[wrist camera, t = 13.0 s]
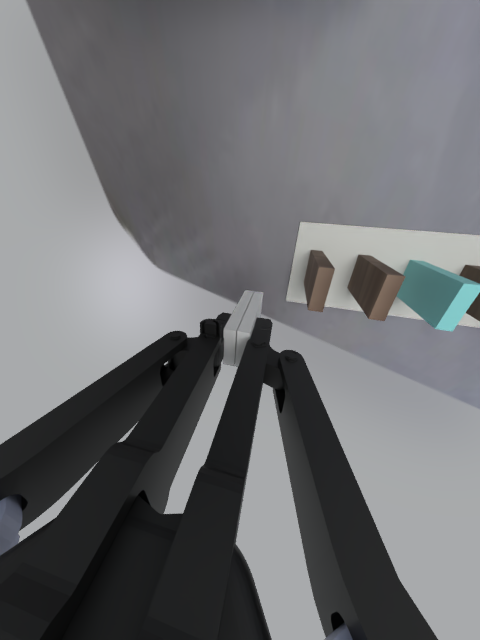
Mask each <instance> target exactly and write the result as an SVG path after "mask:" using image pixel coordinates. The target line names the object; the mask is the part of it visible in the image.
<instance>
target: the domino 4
mask: <svg viewBox="0 0 480 640" xmlns="http://www.w3.org/2000/svg"><path fill="white" fill-rule="evenodd" d="M459 276H462V277H464V278H467V279H469V280H471V281H474V282H476V283H479V284H480V266H474V265H465V266H464V268H463V270H462V271H461V273H460V275H459ZM466 313H467V314H468V315H470V316H472V317H473V318H475V319H476V320H478V321H480V292H479V294H478V295H477V297H476V298H475V300H474V301H473V302H472V304H471V305H470V307H469V308H468V310H467V311H466Z"/></svg>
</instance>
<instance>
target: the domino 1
mask: <svg viewBox="0 0 480 640" xmlns="http://www.w3.org/2000/svg"><path fill="white" fill-rule="evenodd" d="M334 271H335V268H334V266H333V265H332V264H331V262H330V261H329V259H328V258H327V257H326V255H325V254H324V252H323V251H319V250H311V252H310V256H309V261H308V265H307V269H306V274H305V278H304V288H305V294H306V301H307V307H308V310H311V311H318V312H323V309H324V305H325V302H326V298H327V295H328V292H329V288H330V285H331V281H332V278H333V275H334Z"/></svg>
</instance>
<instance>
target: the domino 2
mask: <svg viewBox="0 0 480 640" xmlns="http://www.w3.org/2000/svg"><path fill="white" fill-rule="evenodd" d="M405 277H406V276H404V275H402V274H401V273H399V272H397V271H396V270H394V269H392V268H391V267H389V266H387V265H386V264H384V263H382V262H381V261H379V260H377V259H376V258H374V257H373V256H371V255H360V254H359V255H358V258H357V261H356V264H355V266H354V269H353V272H352V275H351V278H350V281H349V284H348V287H347V288H348V290H349V291H350V293H351V294H352V296H353V297H354V299H355V300H356V301H357V303H358V304H359V306H360V307H361V309H362V310H363V311H364V313H365V314H366V316H367V317H368V319H373V320H380V321H385V319H386V317H387V315H388V312H389V310H390V308H391V306H392V304H393V302H394V300H395V298H396V296H397V294H398V292H399V290H400V287H401V285H402V283H403V281H404V279H405Z"/></svg>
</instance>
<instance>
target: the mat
mask: <svg viewBox="0 0 480 640" xmlns="http://www.w3.org/2000/svg"><path fill="white" fill-rule="evenodd" d="M311 250H319V251H323V252H324V254H325V255H326V257H327V258H328V259H329V261H330V262H331V264H332V265H333V266H334V268H335V271H334V275H333V278H332V281H331V285H330V288H329V292H328V295H327V298H326V302H325V305H324V306H326V307H334V308H341V309H348V310H355V311H362V312H364V311H363V310H362V309H361V307H360V306H359V304H358V303H357V301H356V300H355V299H354V297H353V296H352V294H351V293H350V291H349V290H348V288H347V287H348V284H349V281H350V278H351V275H352V272H353V269H354V266H355V264H356V261H357V258H358V255H359V254H360V255H371V256H373V257H374V258H376V259H377V260H379V261H381V262H382V263H384V264H386V265H387V266H389V267H391V268H392V269H394V270H396V271H397V272H399V273H401V274H402V275H403V274H404V271H405V269H406V267H407V265H408V263H409V261H410V260H418V261H425V262H427V263H430V264H432V265H434V266H437V267H439V268H442V269H444V270H447V271H449V272H452V273H454V274H457V275H460V273H461V271H462V270H463V268H464V266H465V265H474V266H480V235H469V234H455V233H442V232H429V231H415V230H402V229H389V228H376V227H362V226H349V225H336V224H323V223H309V222H300V226H299V232H298V237H297V242H296V248H295V253H294V259H293V264H292V269H291V275H290V280H289V286H288V291H287V296H286V301H290V302H298V303H305V304H307V301H306V294H305V288H304V278H305V274H306V269H307V265H308V261H309V256H310V252H311ZM388 315H391V316H398V317H405V318H413V319H420V320H424V319H423V318H422V317H421V316H419V315H418V314H417V313H416V312H415V311H413V310H412V309H411V308H410V307H409V306H407V305H406V304H405V303H404V302H403V301H402V300H400V299H399V298H398V297H397V296H396V298H395V300H394V302H393V304H392V306H391V308H390V310H389V312H388ZM457 325H463V326H470V327H477V328H480V321H478V320H476V319H475V318H473V317H472V316H470V315H468V314H467V313H465V314H464V315H463V317H462V318H461V320H460V321H459V323H458V324H457Z"/></svg>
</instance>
